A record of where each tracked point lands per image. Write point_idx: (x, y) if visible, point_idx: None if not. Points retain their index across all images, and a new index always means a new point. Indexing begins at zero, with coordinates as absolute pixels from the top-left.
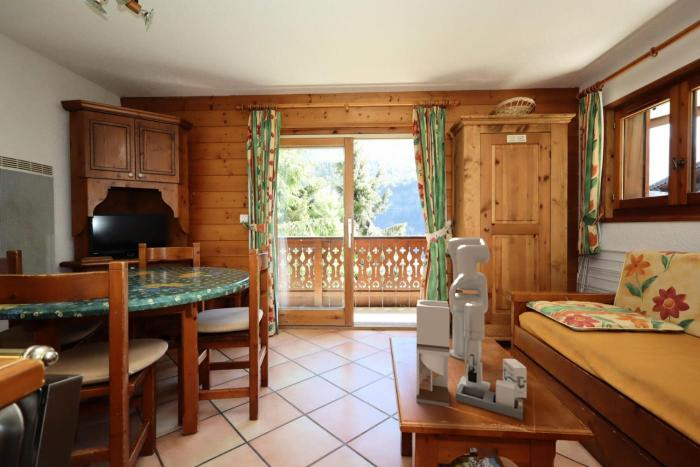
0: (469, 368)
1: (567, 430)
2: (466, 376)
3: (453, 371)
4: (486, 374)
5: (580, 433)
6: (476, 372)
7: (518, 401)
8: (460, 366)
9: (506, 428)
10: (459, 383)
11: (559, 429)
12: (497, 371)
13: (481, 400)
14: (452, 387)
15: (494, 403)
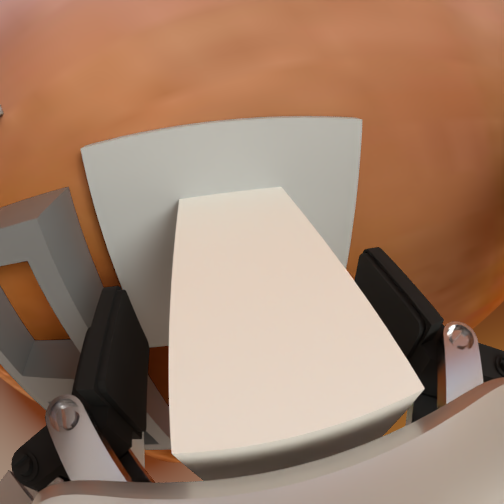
0: (16, 465)
1: (157, 455)
2: (177, 253)
3: (416, 39)
4: (442, 254)
5: (168, 461)
6: (136, 438)
7: (152, 444)
8: (489, 97)
9: (22, 393)
10: (172, 135)
11: (146, 451)
12: (469, 281)
13: (9, 371)
14: (82, 103)
15: (46, 405)
